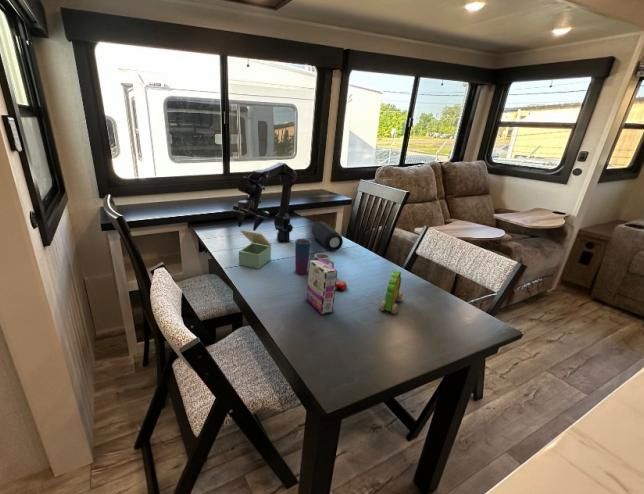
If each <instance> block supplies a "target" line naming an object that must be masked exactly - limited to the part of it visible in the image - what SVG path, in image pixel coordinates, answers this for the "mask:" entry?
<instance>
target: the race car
mask: <svg viewBox="0 0 644 494" xmlns="http://www.w3.org/2000/svg"><path fill="white" fill-rule="evenodd" d="M346 289H348V285H347V283H346V282H345V281H344V280H341V279H338V278H336V287H335V290H337V291H338V292H341V291H345V290H346Z"/></svg>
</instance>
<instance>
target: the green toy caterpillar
mask: <svg viewBox="0 0 644 494" xmlns="http://www.w3.org/2000/svg"><path fill="white" fill-rule="evenodd" d="M402 278H403V277H402V272H401V271H400V270H396V269H393V271H392V273H391V276H390V278H389V281H388V285H387V287H386V288H387V289H386V294H385V300H382V301H381V304H380V307H379V308H380V311H382V312H384V311H387V312H391V314H393V315H396V313H397V310H398V304H397V303H395V302H396V300H397V302H401V301H402V299H403V295H404V293H403V292H402V291H400V289H401V284H402Z"/></svg>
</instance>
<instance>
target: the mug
mask: <svg viewBox="0 0 644 494" xmlns="http://www.w3.org/2000/svg"><path fill="white" fill-rule="evenodd" d="M317 259H321V260H323V261H324V262H325V263H327V264H328V265H330V264H331V267H333V268H334V269H335V262H334V261H333V260H332V259H330V255H329V254H327V253H324V252H318V253H315V254H314V257H313V260H317Z"/></svg>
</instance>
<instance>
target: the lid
mask: <svg viewBox="0 0 644 494" xmlns="http://www.w3.org/2000/svg"><path fill="white" fill-rule="evenodd" d="M240 233H241V234H242V235H243V236H244V238H246V239H247V240H248V241H249V242H250V243H256V244H261V245H266V246H271V247H272V244H271V243H270V242H269V240H268V239H267V238H266V237H265V236H264V234H262V233H258V232H254V231H253V232H252V231H247V230H240Z"/></svg>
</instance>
